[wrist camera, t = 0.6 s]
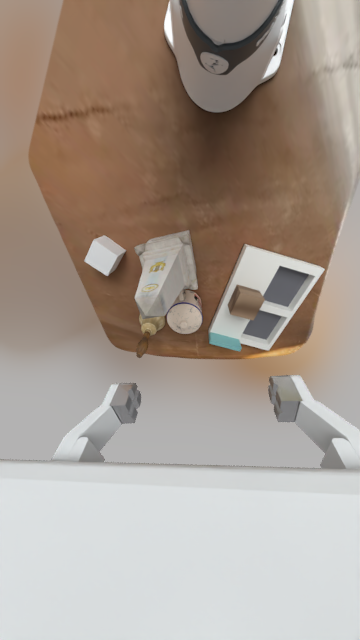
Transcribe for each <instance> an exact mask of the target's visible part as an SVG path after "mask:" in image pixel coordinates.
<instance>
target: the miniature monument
mask: <svg viewBox="0 0 360 640" xmlns="http://www.w3.org/2000/svg"><path fill="white" fill-rule="evenodd" d="M134 249H135V251H136V253H137V255H138V256H139V257H140V261H141V265H142V269H143V271H142V275H141V278H140V282H139V285H138V288H137V292H136V295H135V301H136V303H137V306H138V309H139V311H140V314H141V317H142V319H147V318H154V317H161V316H165V315H166V313H167V312H168V310H169V309H170V307H171V306H172V304H173V303H174V301H175V300H176V298H177V297H178V295H179V294H180V292H181V291H182V290H184V289H188V288H189V289H192V290H196V289H198V282H197V277H196V265H195V260H194V254H193V248H192V243H191V237H190V231H189V230H188V231H183V232H179V233H174V234H170V235H166V236H161V237H157V238H153V239H150V240H149V241H148V242H147V243H146V244H141V245H137V246H136V247H135V248H134Z"/></svg>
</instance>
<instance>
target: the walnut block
mask: <svg viewBox="0 0 360 640" xmlns="http://www.w3.org/2000/svg"><path fill="white" fill-rule="evenodd" d="M264 301H265V299H264V297H263V295H262V294H261V292H260V291H258V290H255V289H251V288H248V287H244V286H241V285H236V287H235V290H234V292H233V294H232V296H231V299H230V301H229V303H228V308H229V312H230V314H231V315H234V316H238V317H242V318H245V319H249V320H254V318H255V317H256V315H257V313H258V311H259V310H260V308H261V306H262V304H263V303H264Z"/></svg>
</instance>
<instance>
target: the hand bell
mask: <svg viewBox="0 0 360 640" xmlns="http://www.w3.org/2000/svg"><path fill="white" fill-rule="evenodd" d="M139 322H140V324H141V325H142V327H141V330H142V332H143V333H144V336H143V338H142V340H141V341H140V342H139V343H138V345H137V357H139V358H141V357H142V355H143V354H144V353H145V352H146V350H147V348H148V339H149V336H151V335H154V334H155V333H156V331H158V330H160V329H162V328H163V327H164V325H165V322H166V320H165V317H164V316H161V317H154V318H147V319H142V317H141V314H140V315H139Z"/></svg>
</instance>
